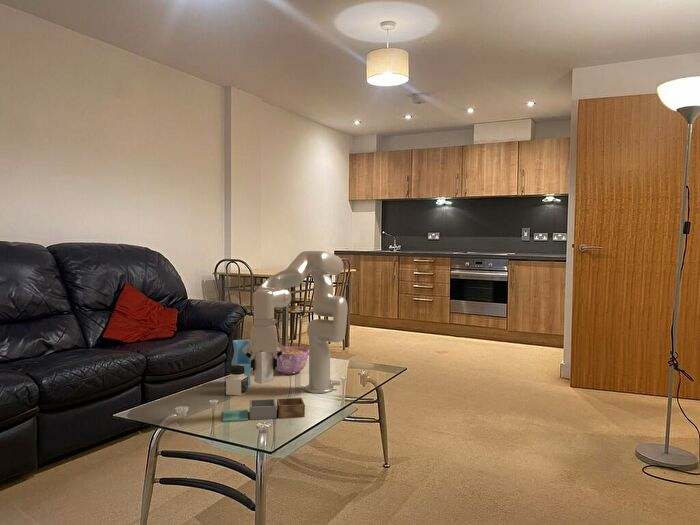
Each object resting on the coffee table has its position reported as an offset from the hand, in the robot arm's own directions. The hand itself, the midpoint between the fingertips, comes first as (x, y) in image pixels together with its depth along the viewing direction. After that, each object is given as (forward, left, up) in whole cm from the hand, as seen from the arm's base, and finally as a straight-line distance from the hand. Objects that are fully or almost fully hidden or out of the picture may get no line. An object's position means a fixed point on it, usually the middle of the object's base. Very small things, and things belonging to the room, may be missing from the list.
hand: (263, 369), depth 196 cm
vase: (+8, -47, -17) cm, 51 cm away
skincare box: (0, 0, -5) cm, 5 cm away
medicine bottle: (+10, -32, -17) cm, 38 cm away
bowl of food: (-16, -67, -17) cm, 71 cm away
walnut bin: (-10, 0, -17) cm, 20 cm away
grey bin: (0, 0, -17) cm, 17 cm away
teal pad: (+10, 0, -17) cm, 20 cm away
